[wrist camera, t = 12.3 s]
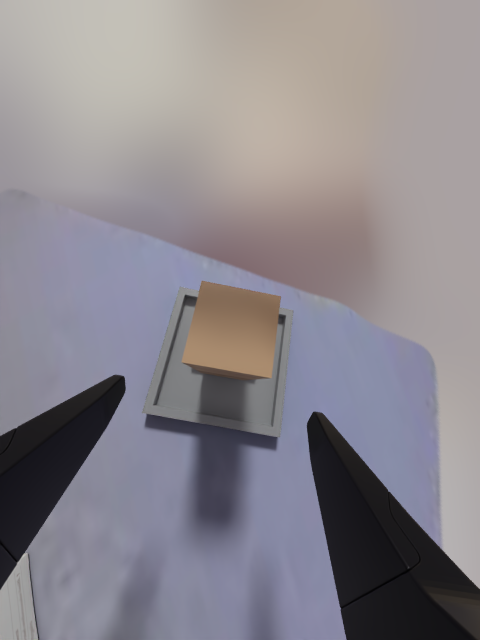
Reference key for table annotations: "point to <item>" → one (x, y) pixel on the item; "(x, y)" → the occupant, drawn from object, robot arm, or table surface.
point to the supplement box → (18, 605)
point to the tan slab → (233, 332)
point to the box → (216, 381)
